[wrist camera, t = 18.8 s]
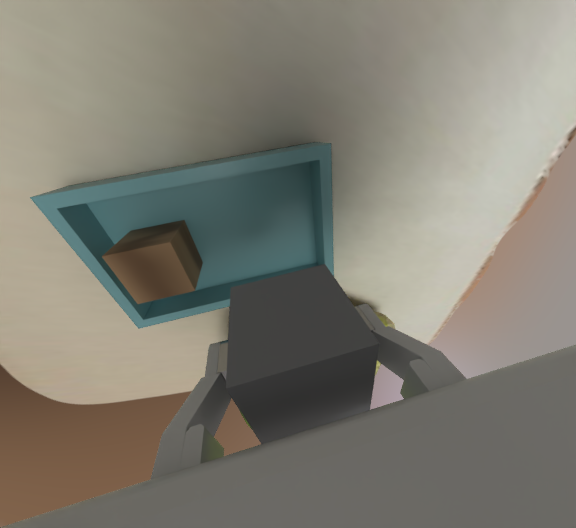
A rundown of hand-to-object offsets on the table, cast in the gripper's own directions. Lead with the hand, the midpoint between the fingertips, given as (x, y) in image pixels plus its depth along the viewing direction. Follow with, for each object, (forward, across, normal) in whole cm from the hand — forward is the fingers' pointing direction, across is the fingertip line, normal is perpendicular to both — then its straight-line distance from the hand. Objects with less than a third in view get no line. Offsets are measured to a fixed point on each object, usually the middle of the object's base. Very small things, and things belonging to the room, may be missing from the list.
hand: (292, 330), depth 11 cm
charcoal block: (+2, 0, 0) cm, 2 cm away
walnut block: (+14, +10, 0) cm, 17 cm away
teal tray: (+15, +4, 0) cm, 16 cm away
